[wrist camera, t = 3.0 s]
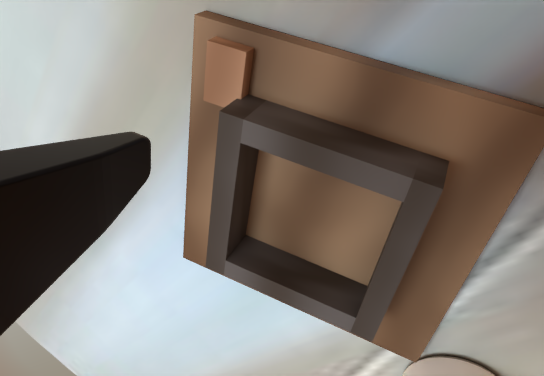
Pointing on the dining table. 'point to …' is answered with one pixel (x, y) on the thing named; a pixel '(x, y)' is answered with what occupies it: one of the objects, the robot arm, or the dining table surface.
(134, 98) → the dining table surface
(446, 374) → the can
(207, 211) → the socket block
